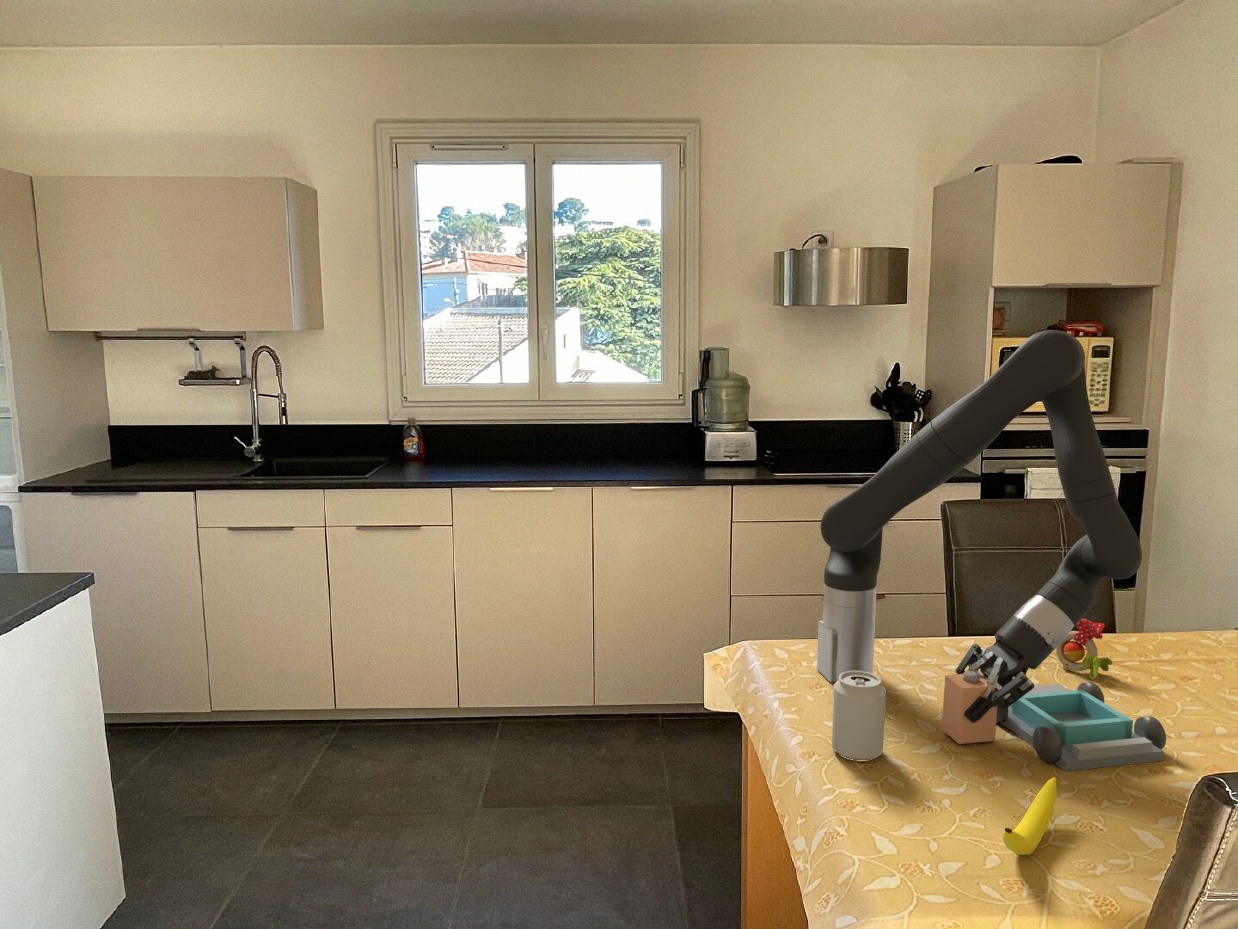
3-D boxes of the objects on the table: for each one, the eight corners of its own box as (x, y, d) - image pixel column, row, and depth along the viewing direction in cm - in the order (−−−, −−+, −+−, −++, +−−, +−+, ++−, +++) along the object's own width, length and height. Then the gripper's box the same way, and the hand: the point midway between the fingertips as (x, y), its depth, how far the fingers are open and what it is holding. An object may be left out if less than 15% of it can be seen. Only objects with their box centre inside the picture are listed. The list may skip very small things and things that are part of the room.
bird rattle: (1060, 686, 164) (1111, 680, 157) (1039, 627, 165) (1088, 618, 159) (1072, 676, 168) (1122, 670, 162) (1051, 619, 170) (1100, 610, 163)
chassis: (1057, 772, 129) (1060, 739, 128) (979, 712, 149) (980, 683, 148) (1169, 760, 132) (1172, 728, 132) (1078, 703, 152) (1080, 675, 151)
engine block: (959, 744, 137) (963, 682, 135) (941, 729, 142) (945, 669, 140) (994, 740, 138) (999, 679, 136) (976, 726, 143) (980, 666, 141)
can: (884, 745, 138) (887, 671, 136) (881, 768, 131) (884, 690, 129) (834, 738, 140) (836, 665, 138) (829, 760, 133) (831, 684, 131)
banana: (1063, 815, 118) (1067, 770, 117) (1017, 884, 104) (1021, 834, 103) (1040, 807, 120) (1043, 763, 119) (991, 874, 106) (995, 825, 105)
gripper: (992, 601, 145) (920, 677, 145) (1050, 632, 131) (969, 716, 131) (1020, 630, 147) (948, 705, 147) (1079, 664, 133) (1000, 747, 133)
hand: (958, 710), depth 139 cm, fingers closed on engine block, 5 cm apart
